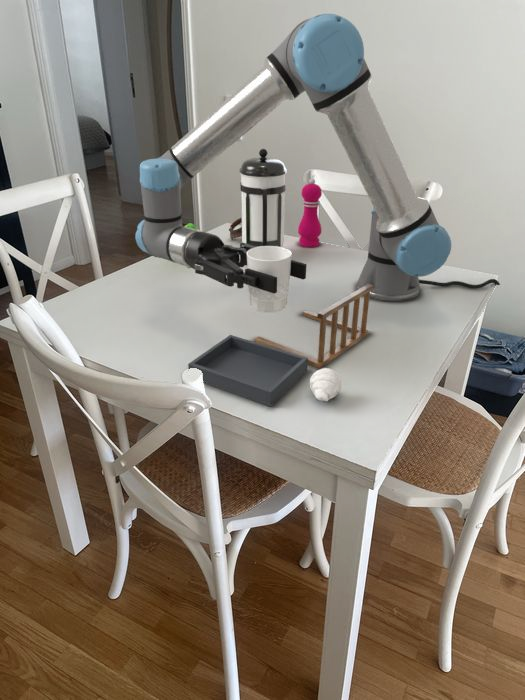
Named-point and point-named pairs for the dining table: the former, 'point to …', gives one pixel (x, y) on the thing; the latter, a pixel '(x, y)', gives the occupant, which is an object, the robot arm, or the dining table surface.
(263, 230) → the coffee press
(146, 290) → the dining table surface
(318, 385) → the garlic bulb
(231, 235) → the pottery mug
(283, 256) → the white cup
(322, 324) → the drying rack
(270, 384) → the dark grey tray
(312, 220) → the pepper mill
